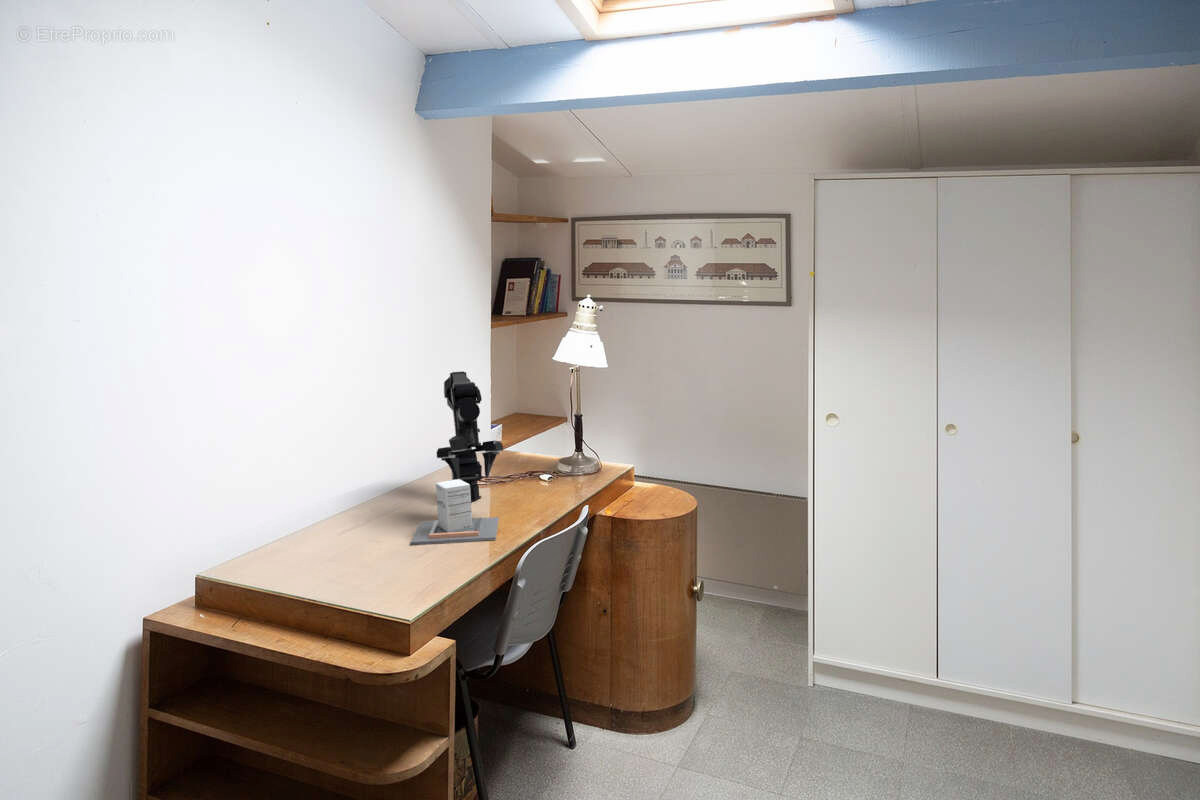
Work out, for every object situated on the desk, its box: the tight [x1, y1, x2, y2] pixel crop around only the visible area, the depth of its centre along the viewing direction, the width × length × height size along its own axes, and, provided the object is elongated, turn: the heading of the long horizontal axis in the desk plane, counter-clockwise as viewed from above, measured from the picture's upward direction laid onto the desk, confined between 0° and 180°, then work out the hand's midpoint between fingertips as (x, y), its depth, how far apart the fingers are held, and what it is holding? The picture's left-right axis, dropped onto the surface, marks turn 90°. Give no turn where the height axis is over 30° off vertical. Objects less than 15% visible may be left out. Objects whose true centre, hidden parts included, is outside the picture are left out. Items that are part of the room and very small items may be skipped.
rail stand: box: [410, 516, 500, 546], centre depth 216 cm, size 18×22×2 cm
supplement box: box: [435, 479, 473, 533], centre depth 216 cm, size 7×7×13 cm
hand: (472, 479), depth 228 cm, fingers open, 9 cm apart
